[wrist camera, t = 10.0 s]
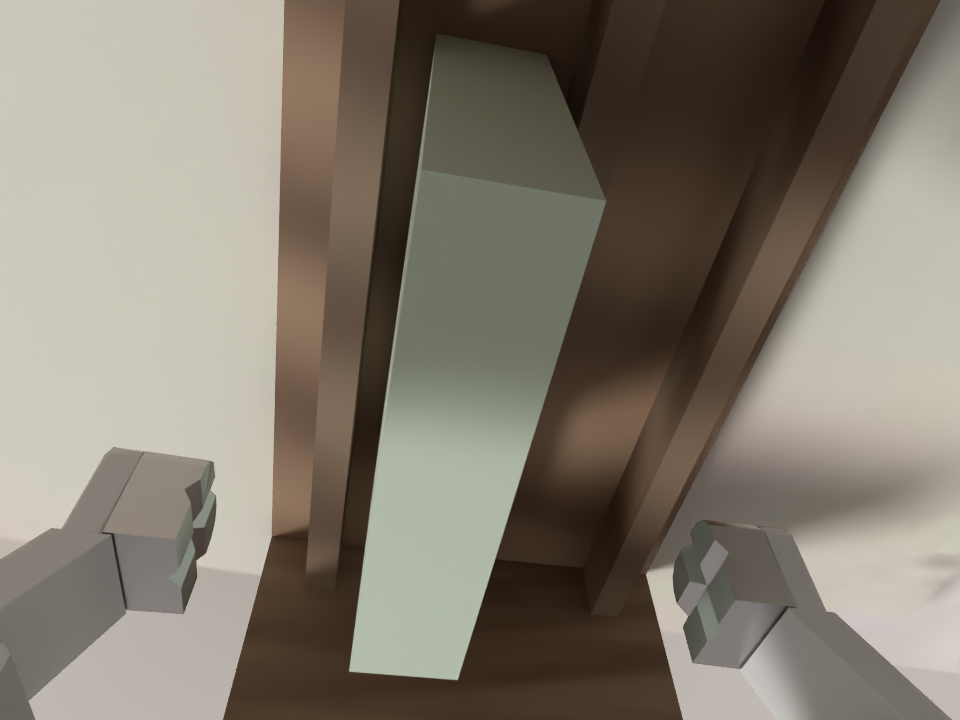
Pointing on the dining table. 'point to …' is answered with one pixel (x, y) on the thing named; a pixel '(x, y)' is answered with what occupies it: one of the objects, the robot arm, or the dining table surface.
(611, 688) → the wooden book rack
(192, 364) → the dining table surface
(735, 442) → the dining table surface
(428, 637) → the pale green rectangular block
